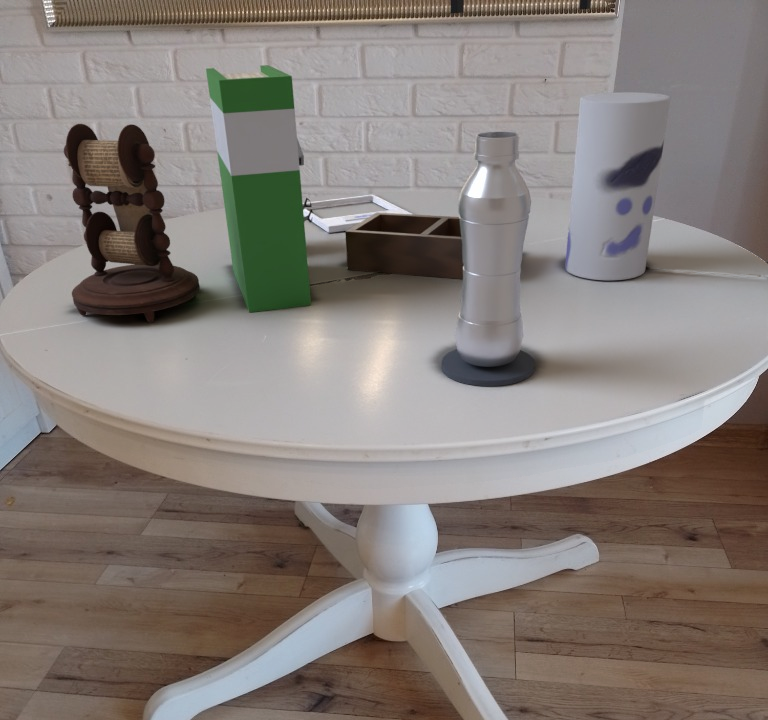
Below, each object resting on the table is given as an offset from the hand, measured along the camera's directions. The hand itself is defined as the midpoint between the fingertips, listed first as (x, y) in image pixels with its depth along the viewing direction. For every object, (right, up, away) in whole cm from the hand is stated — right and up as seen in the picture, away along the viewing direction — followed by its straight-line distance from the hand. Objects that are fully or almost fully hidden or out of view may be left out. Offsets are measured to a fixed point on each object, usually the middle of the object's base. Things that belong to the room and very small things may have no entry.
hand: (519, 11), depth 84 cm
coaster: (-4, -39, -7) cm, 40 cm away
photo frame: (-20, -4, +48) cm, 52 cm away
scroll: (-44, -28, +12) cm, 54 cm away
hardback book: (-29, -25, +17) cm, 42 cm away
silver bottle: (-4, -39, -7) cm, 39 cm away
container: (+14, -22, +18) cm, 32 cm away
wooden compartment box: (-8, -20, +23) cm, 31 cm away
